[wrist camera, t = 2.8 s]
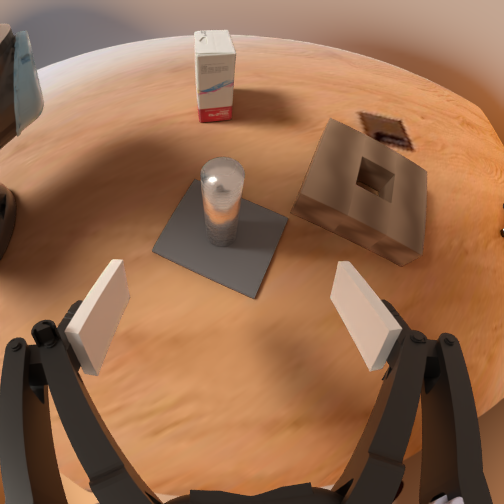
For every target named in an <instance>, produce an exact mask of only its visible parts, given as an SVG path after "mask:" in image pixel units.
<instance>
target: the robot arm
mask: <svg viewBox="0 0 504 504" xmlns="http://www.w3.org/2000/svg"><path fill="white" fill-rule="evenodd" d="M43 107H44V100H43V95H42V91H41V87H40V83H39V78H38V74H37V70H36V66H35V62H34V57H33V53H32V48H31V44H30V40H29V36H28V32H27V31H22V32H18V33H17V34H16V35H15V36H14V35H13V33H12V30H11V28H10V26H9V24H0V149H1V148H3V147H4V146H5V145H6V144H7V143H8V142H9V141H11V140H12V139H13V138H14V137H15V136H16V135H17V136H19V135H20V134H21V132H22V131H23V130H24V129H25V128H26V127H27V126H29V125H30V124H31V123H32V122H34V121H35V120H36V119H37V118H38V117H39V116H40V114H41V113H42V110H43ZM15 216H16V203H15V198H14V196H13V194H12V193H11V191H10V190H9V189H8V188H6V187H5V186H4V185H3V184H1V183H0V259H1V258H2V256H3V254H4V252H5V250H6V248H7V246H8V243H9V241H10V238H11V235H12V231H13V228H14V223H15ZM129 299H130V294H129V289H128V284H127V279H126V273H125V268H124V262H123V260H120V259H112V260H111V261H110V263H109V264H108V266H107V267H106V268H105V270H104V271H103V273H102V274H101V275H100V277H99V278H98V280H97V281H96V283H95V284H94V286H93V287H92V289H91V290H90V291H89V293H88V294H87V296H86V298H85V299H84V301H80V300H78V301H77V302H76V303H74V304H73V305H72V306H71V307H70V309H69V310H68V313H66V315H65V316H64V318H63V320H62V321H61V323H60V324H59V326H58V327H57V328H56V325H55V323H54V322H53V321H51V320H43V321H40V322H38V323H37V324H35V325H34V326H33V328H32V331H31V334H32V336H33V338H34V340H35V342H36V345H27V343H26V341H25V340H24V339H23V338H14V339H12V340H11V341H10V342H9V343H8V344H7V346H6V349H5V355H4V361H3V368H2V376H1V385H0V465H1V473H2V481H3V486H4V493H5V504H68V502H67V499H66V496H65V492H64V489H63V485H62V481H61V477H60V473H59V469H58V464H57V460H56V454H55V449H54V443H53V437H52V429H51V421H50V411H49V398H48V385H49V389H50V392H51V395H52V398H53V400H54V403H55V406H56V409H57V411H58V414H59V417H60V419H61V422H62V424H63V426H64V429H65V431H66V433H67V436H68V438H69V440H70V442H71V444H72V447H73V449H74V451H75V453H76V455H77V457H78V459H79V461H80V462H81V464H82V466H83V468H84V470H85V472H86V473H87V475H88V477H89V479H90V482H89V485H90V488H91V490H92V492H93V493H94V495H95V496H96V498H97V500H98V501H99V503H100V504H163V503H162V502H161V500H160V499H159V498H158V497H157V496H156V495H155V494H154V493H153V492H152V490H151V489H150V488H149V487H148V486H147V485H146V484H145V482H144V481H143V480H142V479H141V477H140V476H139V475H138V473H137V472H136V471H135V469H134V468H133V467H132V465H131V464H130V462H129V461H128V460H127V458H126V457H125V455H124V454H123V452H122V451H121V449H120V448H119V446H118V445H117V443H116V442H115V440H114V438H113V437H112V435H111V434H110V432H109V430H108V429H107V427H106V425H105V423H104V422H103V420H102V418H101V416H100V415H99V413H98V411H97V409H96V407H95V405H94V403H93V401H92V399H91V397H90V395H89V393H88V391H87V389H86V387H85V385H84V383H83V381H82V379H81V376H80V374H79V373H78V371H79V369H80V366H81V367H82V369H83V371H84V373H85V374H89V375H95V376H98V375H99V372H100V369H101V367H102V364H103V361H104V359H105V356H106V353H107V351H108V348H109V346H110V343H111V341H112V339H113V336H114V334H115V331H116V329H117V327H118V324H119V322H120V320H121V317H122V315H123V313H124V310H125V308H126V306H127V304H128V302H129ZM330 299H331V300H332V302H333V304H334V306H335V308H336V309H337V311H338V313H339V315H340V316H341V318H342V320H343V322H344V324H345V326H346V327H347V329H348V331H349V333H350V335H351V337H352V338H353V340H354V342H355V344H356V346H357V348H358V350H359V352H360V353H361V355H362V357H363V359H364V361H365V363H366V365H367V367H368V369H369V371H374V370H379V369H382V368H383V366H384V364H385V363H386V361H387V362H388V364H389V368H388V370H387V371H386V373H385V375H384V377H383V378H382V380H384V381H383V384H382V387H381V390H380V392H379V395H378V398H377V400H376V403H375V406H374V408H373V411H372V413H371V416H370V418H369V420H368V423H367V425H366V427H365V430H364V432H363V434H362V436H361V439H360V441H359V443H358V445H357V447H356V449H355V451H354V453H353V455H352V457H351V459H350V461H349V463H348V465H347V467H346V469H345V470H344V472H343V474H342V476H341V477H340V478H339V480H338V481H337V482H336V483H335V485H334V486H333V488H332V489H331V491H330V490H327V489H323V488H317V487H311V482H309V483H304V484H298V485H292V486H285V487H280V488H277V489H274V490H271V491H268V492H265V493H262V494H259V495H255V496H246V495H240V494H234V493H228V492H223V491H204V490H190V494H189V495H184V496H180V497H177V498H175V499H172V500H170V501H168V502H166V503H165V504H392V502H393V500H394V497H395V495H396V493H397V490H398V488H399V485H400V483H401V480H402V477H403V475H404V471H405V465H404V464H402V461H403V457H404V454H405V451H406V448H407V445H408V442H409V438H410V435H411V431H412V428H413V424H414V420H415V416H416V412H417V408H418V403H419V398H420V394H421V407H422V465H421V479H420V493H419V503H420V504H493V503H492V499H491V496H490V492H489V489H488V486H487V483H486V479H485V476H484V473H483V465H482V450H481V440H480V432H479V425H478V418H477V412H476V407H475V401H474V397H473V392H472V387H471V383H470V379H469V375H468V371H467V367H466V364H465V360H464V357H463V353H462V350H461V347H460V344H459V341H458V339H457V338H456V337H455V336H454V335H452V334H449V333H442V334H441V335H440V336H439V338H438V340H428V339H427V337H426V336H425V335H424V334H423V333H421V332H419V331H415V330H411V329H410V328H409V326H408V325H407V324H406V322H405V321H404V320H403V319H402V317H401V316H399V313H398V312H397V311H396V310H395V308H394V307H393V306H392V305H391V304H390V303H389V302H387V301H386V300H380V299H379V297H378V296H377V295H376V294H375V292H374V291H373V290H372V288H371V287H370V286H369V285H368V284H367V282H366V281H365V280H364V279H363V277H362V276H361V275H360V274H359V272H358V271H357V270H356V269H355V268H354V266H353V265H352V264H351V263H350V262H349V261H338V265H337V270H336V274H335V279H334V283H333V287H332V291H331V296H330Z"/></svg>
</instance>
